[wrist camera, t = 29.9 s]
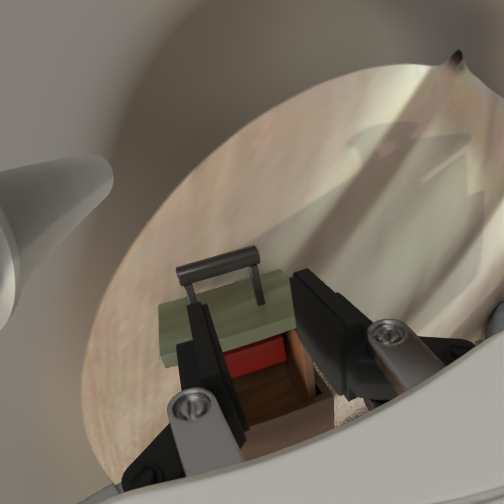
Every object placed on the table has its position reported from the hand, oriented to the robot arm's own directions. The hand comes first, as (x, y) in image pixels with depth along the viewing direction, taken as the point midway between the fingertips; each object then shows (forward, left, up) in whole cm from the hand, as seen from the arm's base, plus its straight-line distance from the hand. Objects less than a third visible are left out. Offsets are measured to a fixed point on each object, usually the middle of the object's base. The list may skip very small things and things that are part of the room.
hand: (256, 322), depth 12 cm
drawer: (+11, 0, -16) cm, 20 cm away
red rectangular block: (+13, 0, -15) cm, 20 cm away
